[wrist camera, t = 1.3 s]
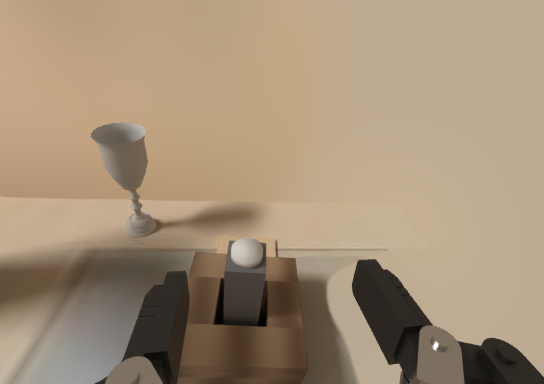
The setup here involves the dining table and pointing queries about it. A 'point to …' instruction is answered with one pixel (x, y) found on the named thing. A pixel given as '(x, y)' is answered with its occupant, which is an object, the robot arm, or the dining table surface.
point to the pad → (224, 239)
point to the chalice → (126, 167)
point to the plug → (244, 282)
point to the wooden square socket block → (243, 329)
